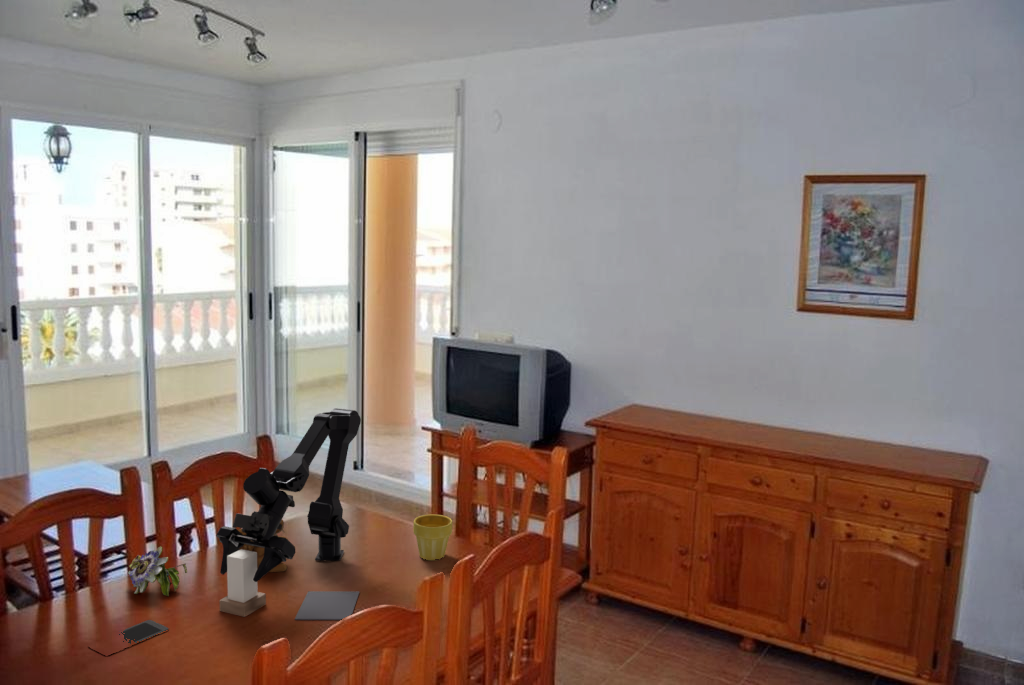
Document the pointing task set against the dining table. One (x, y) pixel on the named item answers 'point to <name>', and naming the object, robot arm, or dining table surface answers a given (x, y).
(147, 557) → the passion flower
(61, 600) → the dining table surface
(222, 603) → the grey square slab
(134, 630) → the cell phone
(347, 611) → the charcoal mat
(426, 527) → the plant pot
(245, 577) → the cream pillar
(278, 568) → the stuffed squirrel
